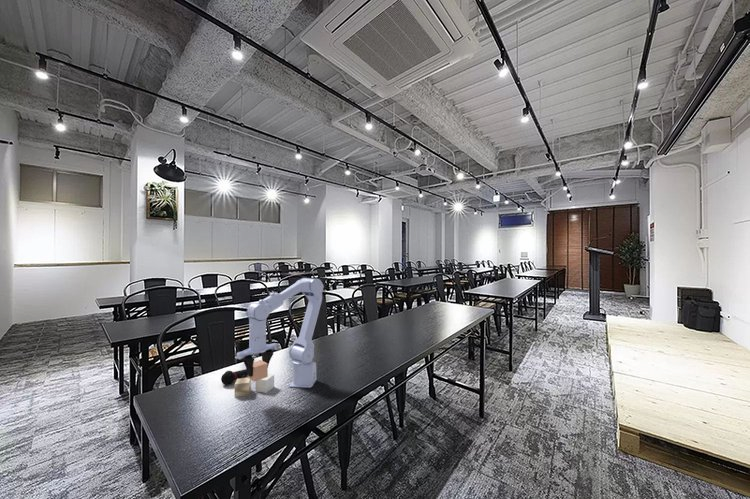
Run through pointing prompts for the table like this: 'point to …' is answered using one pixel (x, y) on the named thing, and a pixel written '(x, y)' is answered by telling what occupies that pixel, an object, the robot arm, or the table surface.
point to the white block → (265, 384)
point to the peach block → (259, 370)
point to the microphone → (233, 376)
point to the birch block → (242, 387)
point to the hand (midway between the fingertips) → (257, 373)
